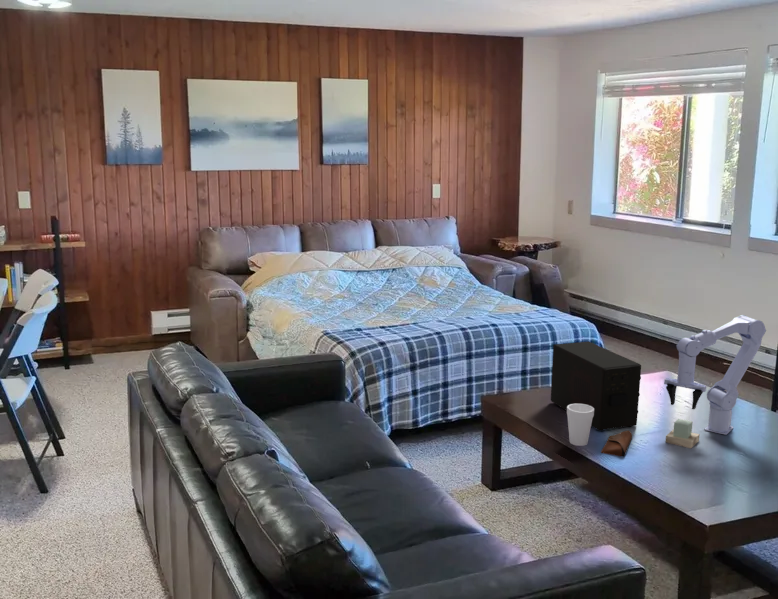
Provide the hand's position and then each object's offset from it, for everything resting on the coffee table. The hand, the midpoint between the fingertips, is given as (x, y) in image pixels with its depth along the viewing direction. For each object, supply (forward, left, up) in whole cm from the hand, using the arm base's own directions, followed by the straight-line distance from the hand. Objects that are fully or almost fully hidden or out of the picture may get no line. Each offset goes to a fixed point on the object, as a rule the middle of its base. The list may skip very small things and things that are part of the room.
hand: (683, 406), depth 291 cm
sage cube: (+8, +3, -8) cm, 12 cm away
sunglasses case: (+27, -14, -11) cm, 32 cm away
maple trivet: (+8, +3, -11) cm, 14 cm away
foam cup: (+32, -26, -11) cm, 43 cm away
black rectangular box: (+2, -32, -11) cm, 34 cm away
